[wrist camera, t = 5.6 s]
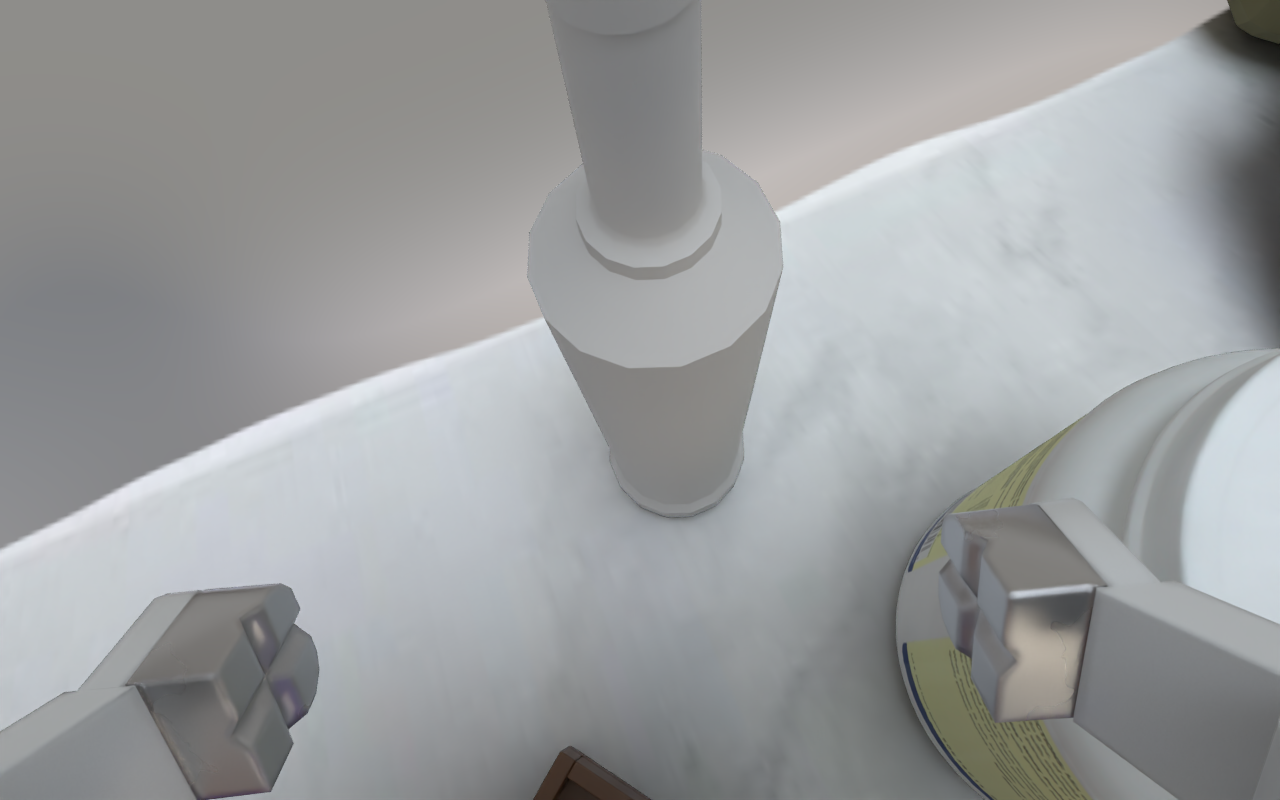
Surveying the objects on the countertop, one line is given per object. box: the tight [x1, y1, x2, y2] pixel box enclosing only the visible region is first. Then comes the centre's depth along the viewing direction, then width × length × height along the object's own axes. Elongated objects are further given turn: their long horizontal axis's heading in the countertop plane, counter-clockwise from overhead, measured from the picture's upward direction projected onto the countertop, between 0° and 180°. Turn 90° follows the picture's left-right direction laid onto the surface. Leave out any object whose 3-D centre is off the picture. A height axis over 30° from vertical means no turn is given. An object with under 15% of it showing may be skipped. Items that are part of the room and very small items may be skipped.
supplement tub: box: [896, 349, 1280, 800], centre depth 20 cm, size 12×12×17 cm
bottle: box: [527, 0, 783, 517], centre depth 19 cm, size 5×5×25 cm
